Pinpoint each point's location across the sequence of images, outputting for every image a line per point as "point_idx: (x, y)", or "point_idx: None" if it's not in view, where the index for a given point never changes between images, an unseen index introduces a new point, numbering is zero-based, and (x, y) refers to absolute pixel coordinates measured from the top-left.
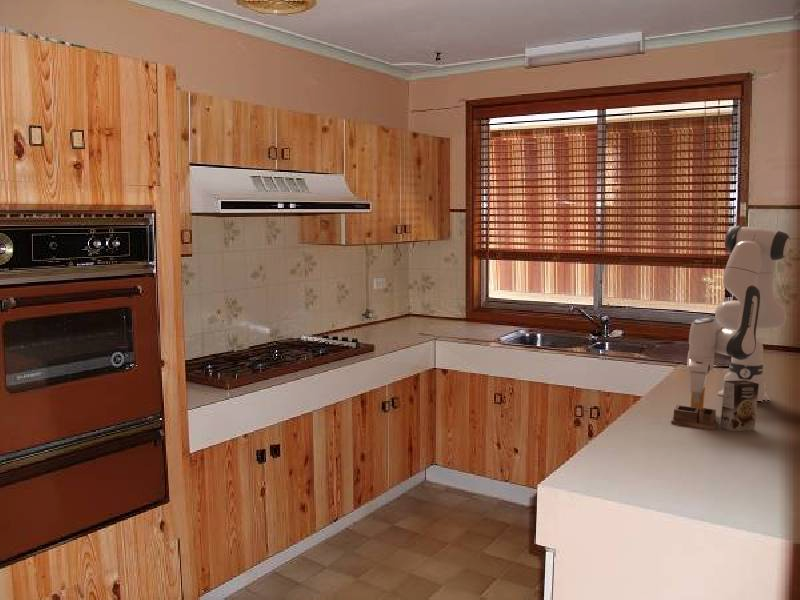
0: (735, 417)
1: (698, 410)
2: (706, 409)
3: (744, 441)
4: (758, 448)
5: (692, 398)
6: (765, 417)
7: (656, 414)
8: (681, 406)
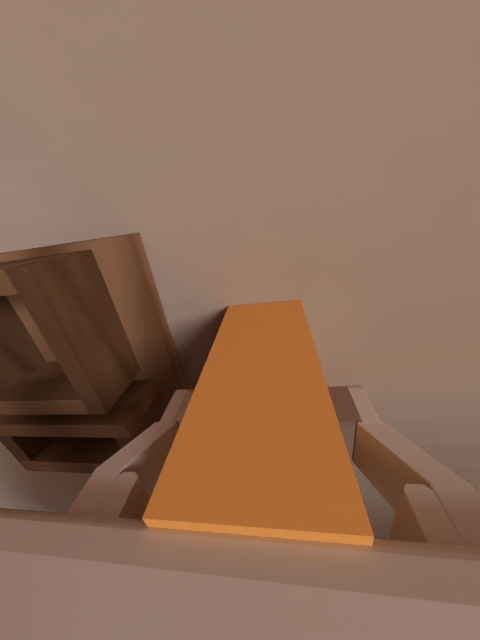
0: None
1: (42, 413)
2: (118, 440)
3: (42, 479)
4: (21, 497)
5: (203, 387)
6: (390, 530)
7: (43, 83)
8: (29, 309)
